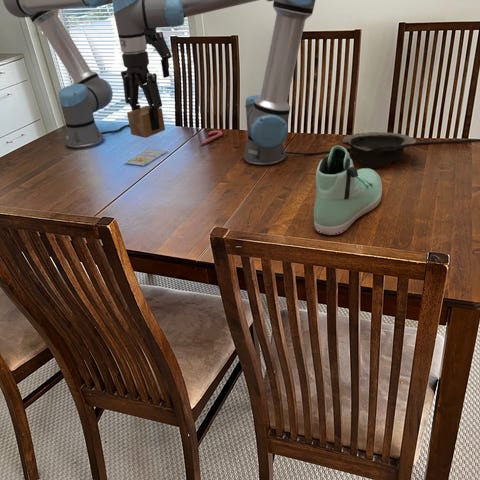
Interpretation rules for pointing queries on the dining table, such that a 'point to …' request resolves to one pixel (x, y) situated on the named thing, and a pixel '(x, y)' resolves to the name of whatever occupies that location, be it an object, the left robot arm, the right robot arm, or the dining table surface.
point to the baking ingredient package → (145, 157)
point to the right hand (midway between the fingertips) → (147, 127)
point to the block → (144, 122)
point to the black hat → (378, 147)
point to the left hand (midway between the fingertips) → (154, 75)
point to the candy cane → (219, 133)
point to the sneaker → (343, 192)
